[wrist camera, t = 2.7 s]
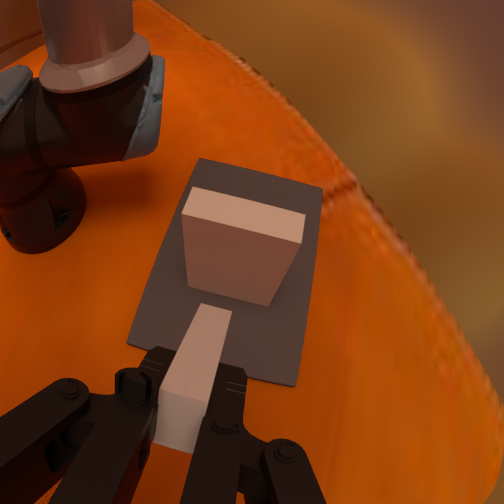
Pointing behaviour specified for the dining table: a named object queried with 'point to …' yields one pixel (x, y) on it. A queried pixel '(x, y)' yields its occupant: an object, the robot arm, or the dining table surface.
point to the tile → (238, 245)
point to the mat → (243, 313)
